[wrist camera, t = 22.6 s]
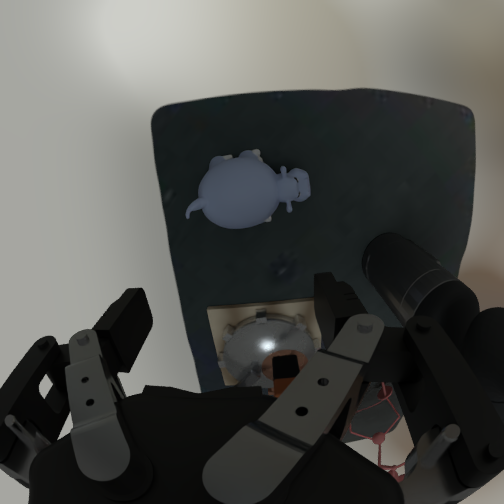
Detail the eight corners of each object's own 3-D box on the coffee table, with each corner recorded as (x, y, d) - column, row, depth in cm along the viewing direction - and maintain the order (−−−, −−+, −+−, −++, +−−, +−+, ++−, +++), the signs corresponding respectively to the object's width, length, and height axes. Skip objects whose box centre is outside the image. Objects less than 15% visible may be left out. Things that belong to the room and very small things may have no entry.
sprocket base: (321, 296, 44) (325, 307, 41) (317, 377, 51) (320, 389, 48) (207, 306, 45) (204, 318, 42) (226, 384, 52) (225, 397, 49)
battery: (273, 381, 47) (276, 423, 37) (271, 355, 44) (274, 400, 35) (296, 378, 46) (303, 421, 37) (297, 353, 44) (304, 397, 35)
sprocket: (256, 289, 42) (256, 316, 35) (338, 337, 46) (348, 365, 39) (196, 362, 48) (189, 390, 41) (272, 396, 52) (274, 424, 45)
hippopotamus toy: (308, 215, 40) (323, 235, 31) (208, 232, 41) (195, 255, 32) (297, 142, 36) (311, 140, 27) (192, 161, 37) (173, 165, 28)
